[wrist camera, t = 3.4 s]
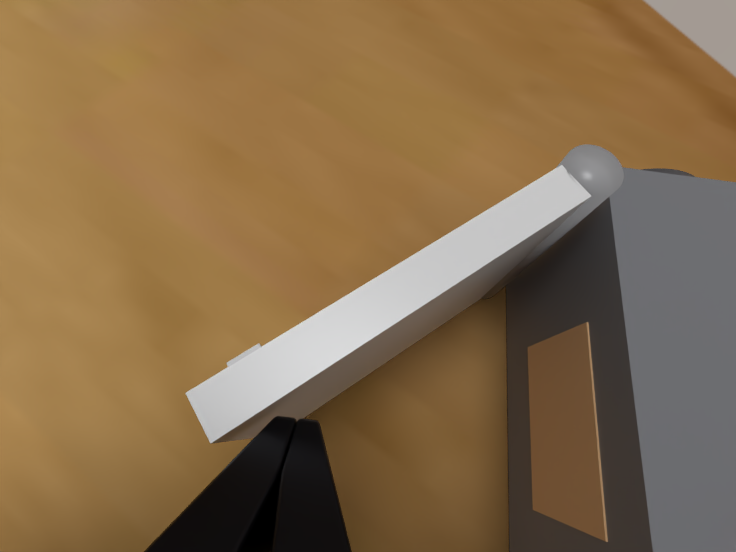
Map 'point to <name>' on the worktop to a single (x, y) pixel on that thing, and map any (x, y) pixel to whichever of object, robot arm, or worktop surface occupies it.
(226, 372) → the side door
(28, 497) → the worktop surface
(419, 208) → the worktop surface
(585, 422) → the box
